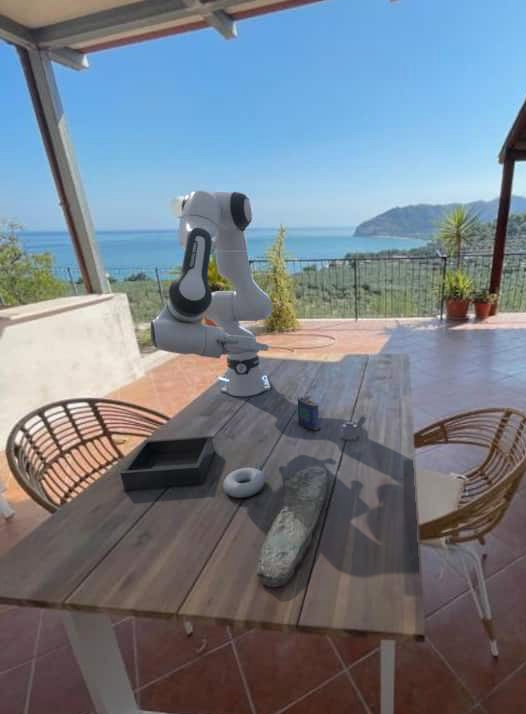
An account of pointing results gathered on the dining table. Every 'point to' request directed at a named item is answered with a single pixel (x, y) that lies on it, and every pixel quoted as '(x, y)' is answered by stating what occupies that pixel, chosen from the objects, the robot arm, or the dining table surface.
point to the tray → (168, 463)
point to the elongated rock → (293, 526)
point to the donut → (247, 489)
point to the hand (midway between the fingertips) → (262, 349)
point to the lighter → (352, 428)
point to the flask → (308, 413)
